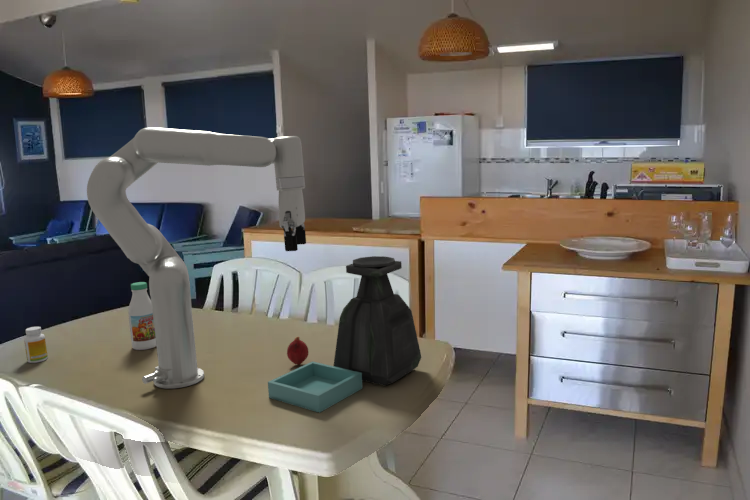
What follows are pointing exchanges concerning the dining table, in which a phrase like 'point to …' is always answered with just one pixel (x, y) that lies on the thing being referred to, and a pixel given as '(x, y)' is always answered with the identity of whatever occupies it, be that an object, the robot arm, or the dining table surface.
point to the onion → (297, 351)
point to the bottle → (377, 326)
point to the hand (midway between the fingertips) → (296, 247)
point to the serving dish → (315, 386)
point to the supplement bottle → (35, 345)
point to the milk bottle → (141, 318)
